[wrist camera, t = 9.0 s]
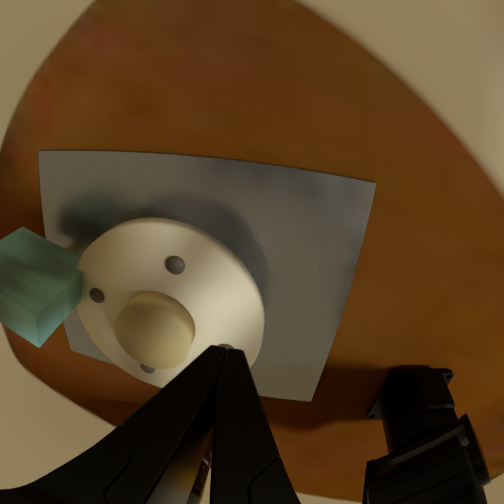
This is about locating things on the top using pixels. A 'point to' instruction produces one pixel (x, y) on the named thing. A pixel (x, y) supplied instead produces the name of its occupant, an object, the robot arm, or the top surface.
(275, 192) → the base
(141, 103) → the top surface
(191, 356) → the flange
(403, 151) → the top surface
